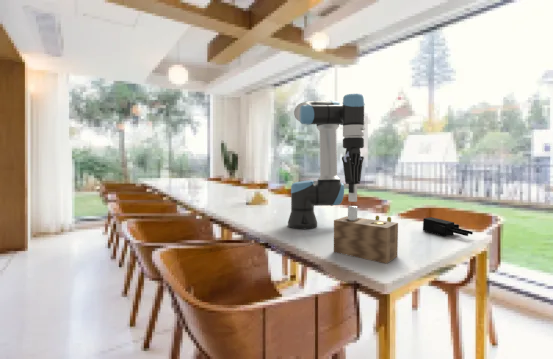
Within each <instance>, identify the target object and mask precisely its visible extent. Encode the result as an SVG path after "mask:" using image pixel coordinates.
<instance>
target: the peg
mask: <svg viewBox="0 0 553 359" xmlns="http://www.w3.org/2000/svg"><path fill="white" fill-rule="evenodd" d="M347 216H348V221H357V218H358V206H357V205H348V206H347Z"/></svg>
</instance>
